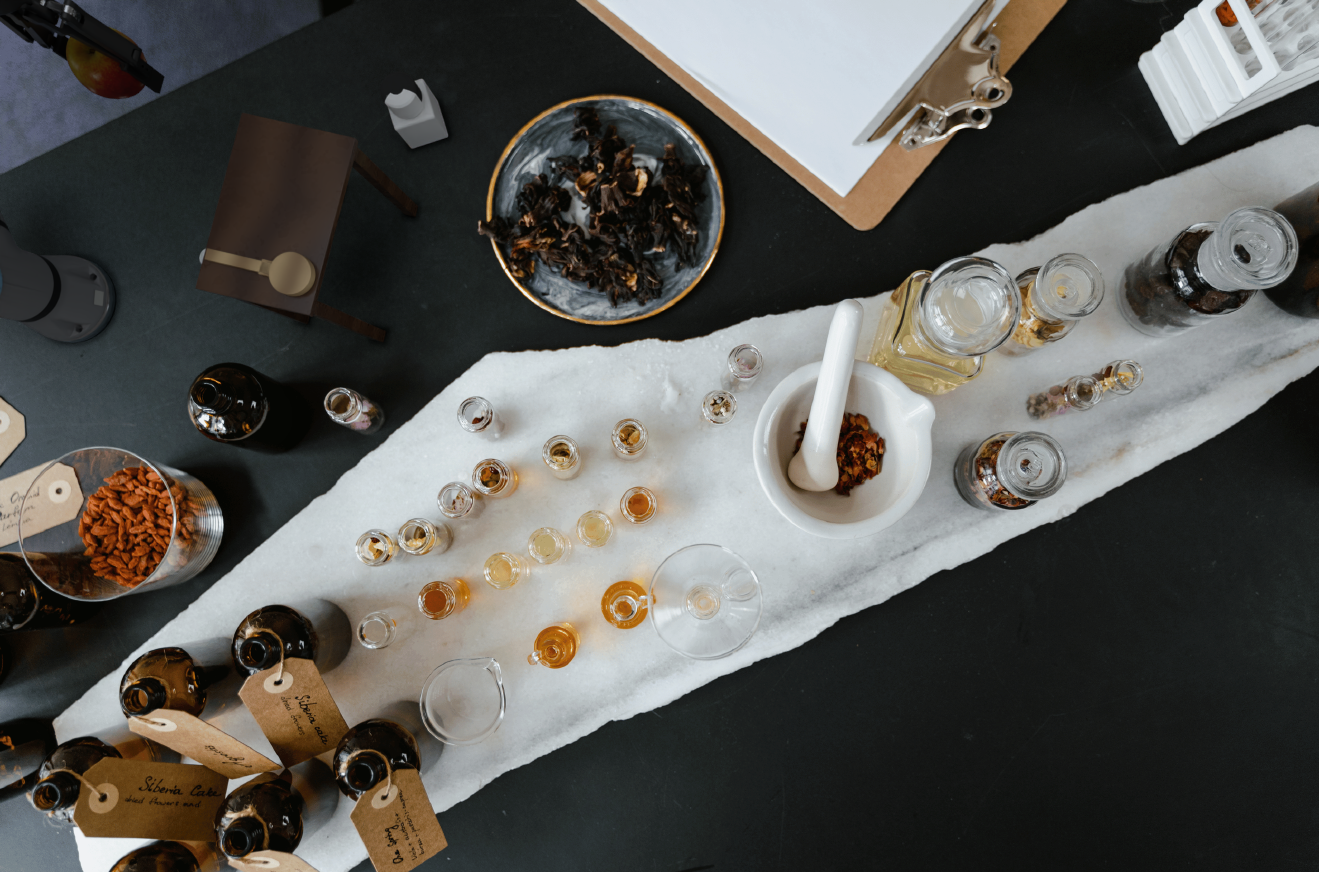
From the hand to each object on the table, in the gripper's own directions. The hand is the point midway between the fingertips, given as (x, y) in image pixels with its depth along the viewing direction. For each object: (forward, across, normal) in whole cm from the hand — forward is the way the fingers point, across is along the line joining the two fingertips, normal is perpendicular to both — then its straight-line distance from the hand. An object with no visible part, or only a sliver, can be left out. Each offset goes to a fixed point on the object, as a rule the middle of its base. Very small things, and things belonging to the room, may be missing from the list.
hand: (128, 77), depth 99 cm
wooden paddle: (-4, -29, +24) cm, 38 cm away
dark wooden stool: (+20, -30, +16) cm, 39 cm away
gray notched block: (+20, -35, -11) cm, 42 cm away
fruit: (0, 0, 0) cm, 0 cm away
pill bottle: (+20, -9, +22) cm, 31 cm away
